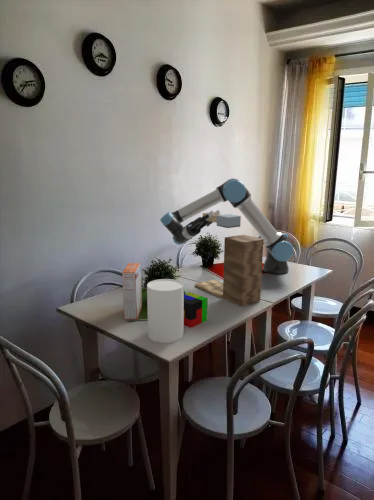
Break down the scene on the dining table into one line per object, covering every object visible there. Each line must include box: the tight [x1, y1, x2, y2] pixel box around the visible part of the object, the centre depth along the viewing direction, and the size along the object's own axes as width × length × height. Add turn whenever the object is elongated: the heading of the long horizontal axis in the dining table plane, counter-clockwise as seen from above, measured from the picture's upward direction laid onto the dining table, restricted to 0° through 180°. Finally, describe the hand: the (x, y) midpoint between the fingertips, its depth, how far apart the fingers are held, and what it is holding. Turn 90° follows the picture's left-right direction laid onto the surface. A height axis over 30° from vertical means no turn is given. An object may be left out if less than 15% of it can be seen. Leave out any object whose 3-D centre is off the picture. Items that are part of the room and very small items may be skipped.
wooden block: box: [222, 234, 264, 308], centre depth 177 cm, size 12×13×30 cm
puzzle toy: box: [184, 292, 208, 329], centre depth 155 cm, size 10×10×10 cm
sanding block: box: [202, 212, 242, 229], centre depth 186 cm, size 8×22×5 cm, turn 36°
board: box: [194, 279, 223, 299], centre depth 194 cm, size 13×21×1 cm, turn 35°
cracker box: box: [121, 262, 143, 321], centre depth 161 cm, size 14×6×21 cm, turn 178°
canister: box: [146, 278, 185, 344], centre depth 142 cm, size 14×14×20 cm
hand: (216, 212), depth 187 cm, fingers closed on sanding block, 3 cm apart
